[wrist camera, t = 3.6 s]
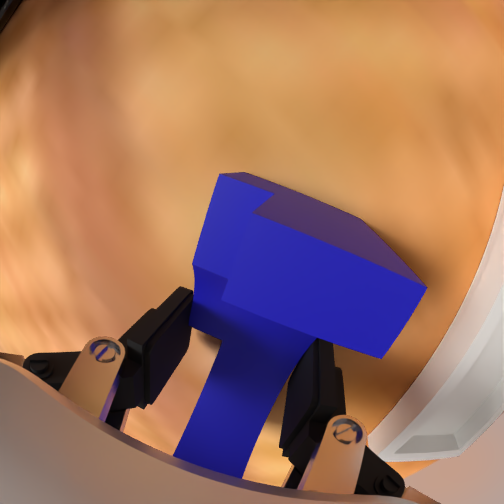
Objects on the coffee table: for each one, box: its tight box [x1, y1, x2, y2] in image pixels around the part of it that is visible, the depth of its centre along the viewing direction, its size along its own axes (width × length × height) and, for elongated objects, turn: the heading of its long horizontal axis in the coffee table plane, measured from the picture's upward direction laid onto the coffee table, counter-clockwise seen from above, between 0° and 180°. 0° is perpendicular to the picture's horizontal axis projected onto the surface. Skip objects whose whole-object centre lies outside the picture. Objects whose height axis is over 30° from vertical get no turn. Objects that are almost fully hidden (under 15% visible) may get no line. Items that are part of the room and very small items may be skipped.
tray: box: [367, 188, 504, 462], centre depth 8 cm, size 16×8×2 cm, turn 166°
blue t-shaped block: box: [173, 172, 427, 479], centre depth 9 cm, size 12×4×6 cm, turn 160°
